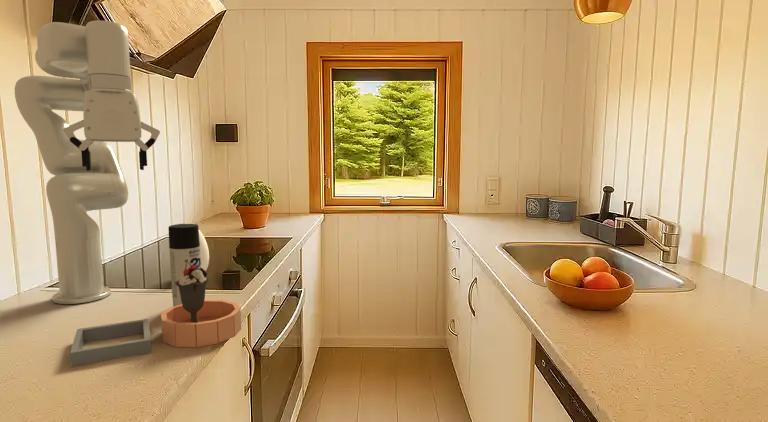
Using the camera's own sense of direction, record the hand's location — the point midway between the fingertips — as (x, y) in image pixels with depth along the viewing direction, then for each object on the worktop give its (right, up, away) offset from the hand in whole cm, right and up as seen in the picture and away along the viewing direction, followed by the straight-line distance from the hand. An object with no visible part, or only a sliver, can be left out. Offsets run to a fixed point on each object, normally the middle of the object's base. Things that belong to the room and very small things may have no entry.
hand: (116, 169), depth 98 cm
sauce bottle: (0, -29, +41) cm, 50 cm away
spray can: (+9, -32, +15) cm, 36 cm away
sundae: (+17, -33, -2) cm, 37 cm away
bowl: (+18, -34, -1) cm, 38 cm away
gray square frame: (+4, -35, -8) cm, 36 cm away
